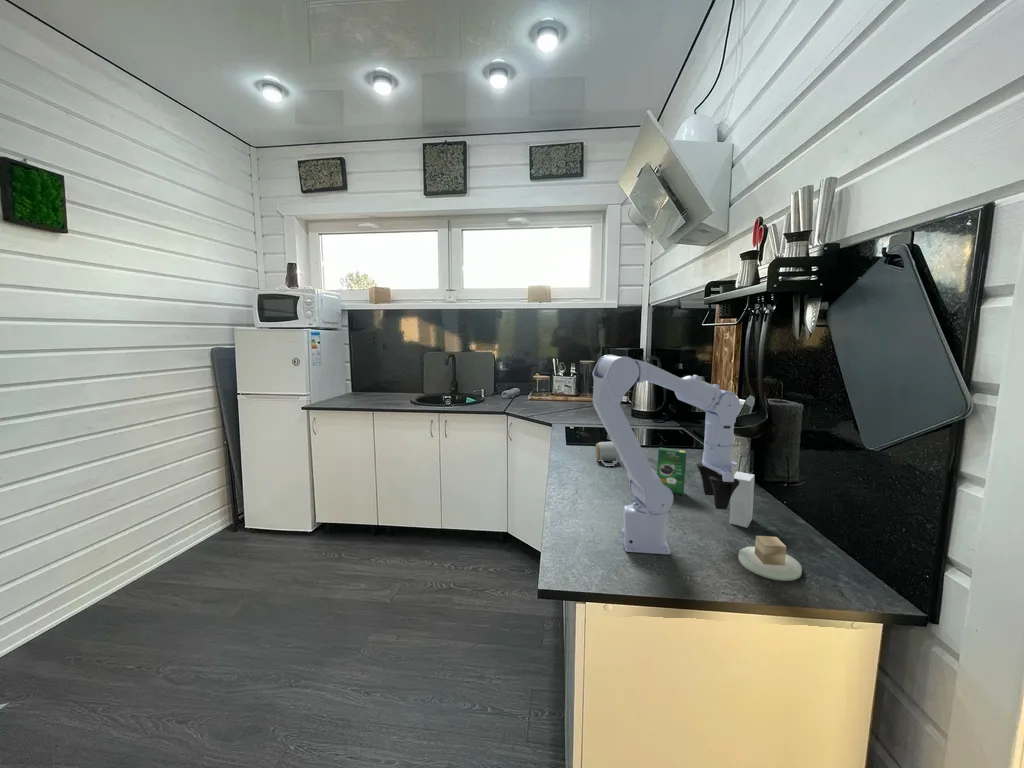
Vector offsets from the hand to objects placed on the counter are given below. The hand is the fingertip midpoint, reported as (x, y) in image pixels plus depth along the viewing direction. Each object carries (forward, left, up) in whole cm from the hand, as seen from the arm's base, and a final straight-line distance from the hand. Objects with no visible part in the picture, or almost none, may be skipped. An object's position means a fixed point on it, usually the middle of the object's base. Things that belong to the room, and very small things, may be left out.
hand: (715, 501), depth 93 cm
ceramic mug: (-19, +56, -10) cm, 60 cm away
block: (+8, -9, -8) cm, 15 cm away
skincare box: (+10, +11, -10) cm, 18 cm away
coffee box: (-3, +29, -10) cm, 31 cm away
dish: (+8, -9, -9) cm, 15 cm away
